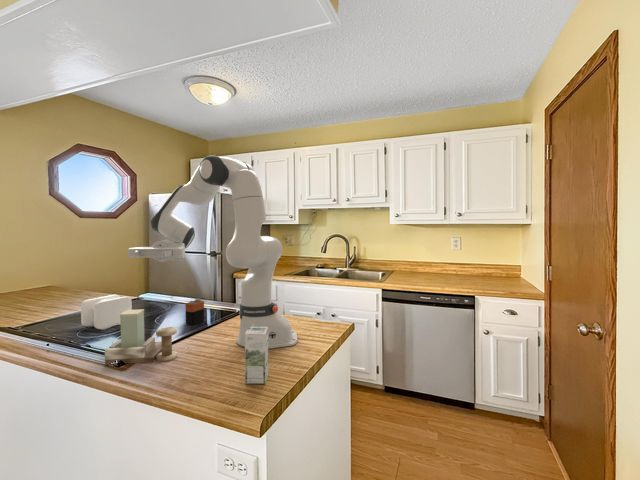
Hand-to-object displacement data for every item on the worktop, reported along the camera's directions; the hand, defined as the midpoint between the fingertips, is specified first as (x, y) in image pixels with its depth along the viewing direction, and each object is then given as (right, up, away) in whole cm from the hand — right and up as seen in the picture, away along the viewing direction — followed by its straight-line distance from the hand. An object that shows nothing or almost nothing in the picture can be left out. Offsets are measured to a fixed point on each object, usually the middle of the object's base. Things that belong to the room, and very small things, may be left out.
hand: (149, 254), depth 114 cm
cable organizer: (-27, -31, +16) cm, 44 cm away
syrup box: (+46, -34, -28) cm, 64 cm away
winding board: (+3, -33, -12) cm, 35 cm away
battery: (+9, -31, +20) cm, 38 cm away
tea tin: (+2, -31, -13) cm, 34 cm away
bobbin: (+14, -33, -14) cm, 38 cm away
